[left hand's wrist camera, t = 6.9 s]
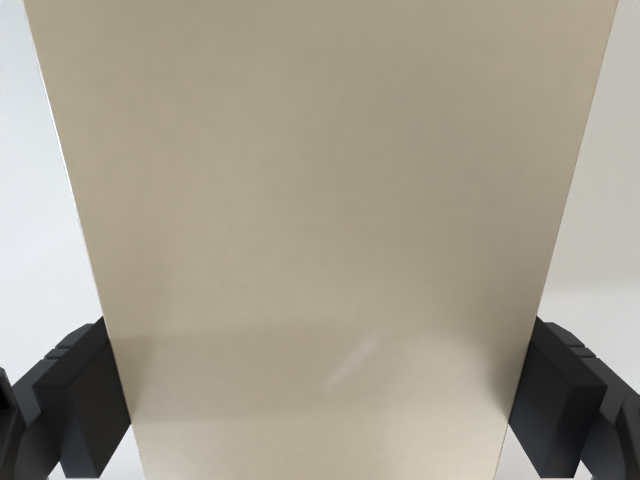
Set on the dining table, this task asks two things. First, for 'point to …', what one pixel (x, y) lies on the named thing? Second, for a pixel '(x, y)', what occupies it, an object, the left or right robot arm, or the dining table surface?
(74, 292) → the dining table surface
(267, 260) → the cabinet
